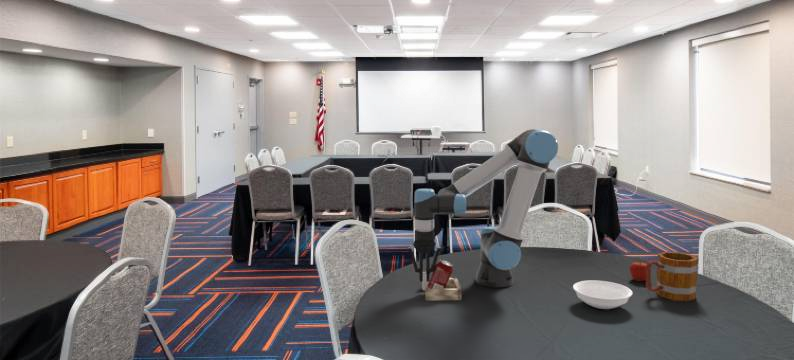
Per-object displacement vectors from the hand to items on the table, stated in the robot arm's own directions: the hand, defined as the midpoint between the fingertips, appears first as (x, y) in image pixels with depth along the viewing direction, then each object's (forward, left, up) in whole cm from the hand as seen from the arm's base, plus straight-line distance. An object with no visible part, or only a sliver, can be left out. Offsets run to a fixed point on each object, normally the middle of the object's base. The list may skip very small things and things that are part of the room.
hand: (424, 289), depth 197 cm
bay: (-6, 0, -2) cm, 6 cm away
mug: (-92, +6, -2) cm, 92 cm away
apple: (-90, -12, -2) cm, 91 cm away
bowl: (-63, +15, -2) cm, 64 cm away
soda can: (-4, 0, -1) cm, 4 cm away
